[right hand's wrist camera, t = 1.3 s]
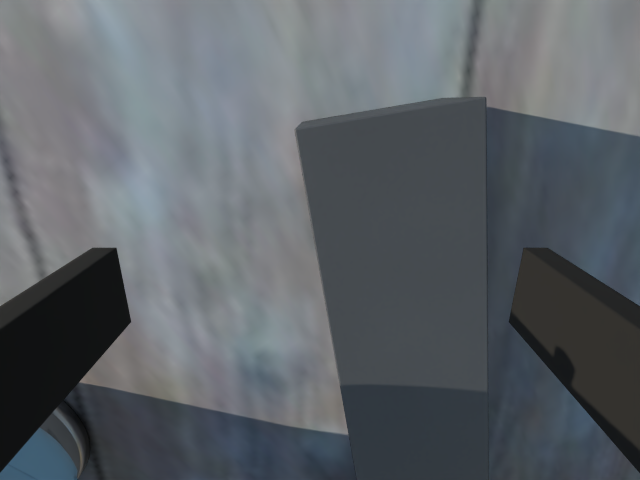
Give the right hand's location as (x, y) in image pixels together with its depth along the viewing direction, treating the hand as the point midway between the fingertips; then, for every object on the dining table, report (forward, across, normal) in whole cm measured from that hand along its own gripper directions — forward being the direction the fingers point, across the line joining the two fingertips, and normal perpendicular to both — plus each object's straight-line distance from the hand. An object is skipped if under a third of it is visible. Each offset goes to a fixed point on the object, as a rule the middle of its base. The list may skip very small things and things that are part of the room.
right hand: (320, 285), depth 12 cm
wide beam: (+16, +9, -27) cm, 33 cm away
